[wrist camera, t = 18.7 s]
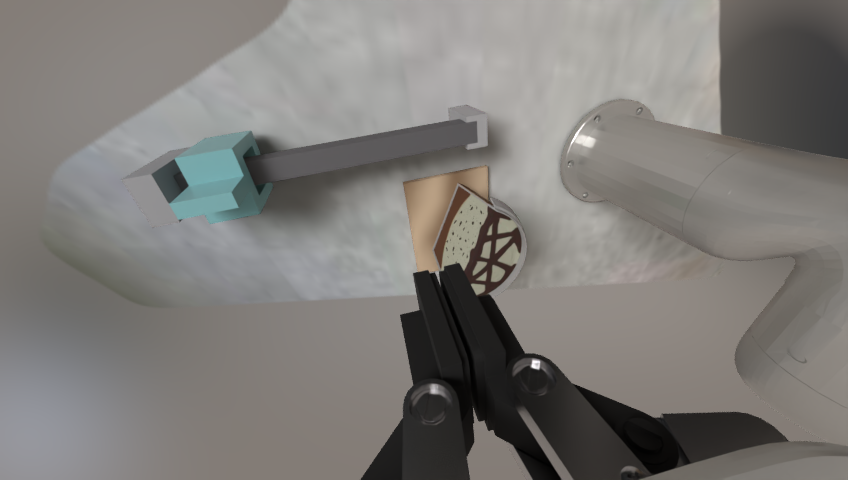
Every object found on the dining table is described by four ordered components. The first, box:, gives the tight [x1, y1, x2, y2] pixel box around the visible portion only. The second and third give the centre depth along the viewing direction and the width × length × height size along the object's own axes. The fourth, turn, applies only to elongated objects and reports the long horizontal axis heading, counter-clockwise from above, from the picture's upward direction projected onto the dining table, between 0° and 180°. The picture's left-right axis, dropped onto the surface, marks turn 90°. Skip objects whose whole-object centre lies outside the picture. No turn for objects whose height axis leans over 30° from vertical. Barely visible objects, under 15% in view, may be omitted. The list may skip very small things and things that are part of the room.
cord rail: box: [121, 105, 488, 228], centre depth 29 cm, size 29×4×8 cm, turn 98°
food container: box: [432, 183, 527, 298], centre depth 36 cm, size 12×6×10 cm, turn 162°
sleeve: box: [169, 131, 273, 224], centre depth 26 cm, size 4×6×10 cm
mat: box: [403, 165, 488, 272], centre depth 40 cm, size 10×13×1 cm
